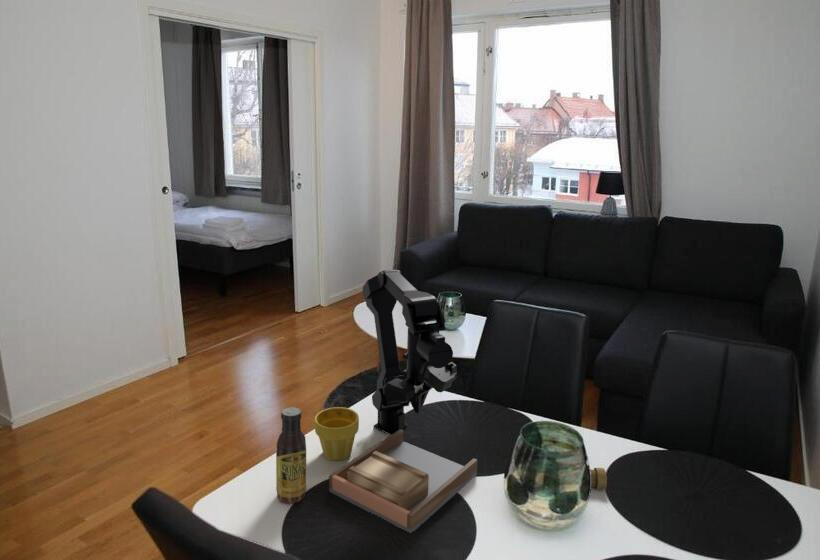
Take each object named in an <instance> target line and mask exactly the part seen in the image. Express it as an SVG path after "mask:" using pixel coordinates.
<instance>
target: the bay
mask: <svg viewBox="0 0 820 560" xmlns="http://www.w3.org/2000/svg"><path fill="white" fill-rule="evenodd" d="M375 451H377V452H380V453H382V454H384V455H387V456H389V457H391V458H393V459H396V460H398V461H400V462H403V463H405V464H407V465H409V466H412V467H414V468H416V469H419V470H421V471H423V472H425V473H427V474H429V482H428V494H426V495H425V496H424V497H423V498H422V499H420V500H419V501H418V502H417V503H416V504H414V505H413V506H412V507H411V508H410V509H408V510H406V509H404V508H402V507H400V506H398V505H396V504H394V503H392V502H390V501H388V500H386V499H384V498H382V497H380V496H378V495H376V494H374V493H371V492H369V491H367V490H365V489H363V488H361V487H359V486H357V485H355V484H353V483H351V482H349V481H347V472H348V471H349V468H350V467H352V466H354V467H356V466H357V465H359V464H360V463H362V462H363V461H365V460H367V459H368V458H370V457H371V456H372V453H373V452H375ZM477 473H478V459H476V458H472V459H471V460H470V461H468V462H467V463H466V464H465V465H462V464H460V463H457V462H455V461H453V460H450V459H448V458H445V457H442V456H440V455H437V454H436V453H433V452H430V451H428V450H426V449H424V448H421V447H419V446H415V445H413V444H411V443H408V442H406V441H405V440H404V430H403V429H400V430H398V431H396V432H395V433H393V434H392V435H391V434H389V436H387V437H386V438H384V439H382V440H381V441H380V442H378V443H376V444H375V445H374V446H372V447H370V448H369V449H367V450H365V451H364V452H363V453H361V454H359V455H357V457H355V458H353V459H351V460H350V461H348V462H347V463H345V464H344V465H342V466H341V467H340V468H338V469H336V470H335V471H333V472H332V473H330V474H328V491H329V492H330V493H332V494H333V495H335V496H337V497H338V498H341V499H342V500H345V501H347V502H348V503H351V504H352V505H354V506H356V507H359V508H360V509H362V510H364V511H366V512H368V513H370V512H371V513H370V514H372V515H373V514H375V515H377V516H378V517H377V516H376V517H377V518H379V517H381V518H382V519H381V518H380V519H381V520H383V519H384V520H383V521H385V520H386V521H385V522H387V521H388V522H387V523H389V522H390V523H389V524H391V523H392V524H391V525H393V524H394V525H393V526H395V527H397V528H399V529H400V528H401V530H402V529H403V531H404V530H405V531H404V532H406V531H407V533H408V532H409V533H408V534H410V533H412V532H413V531H414V532H415V531H416V530H417V529H419V528H420V527H421V524H422V525H423V524H424V523H425V522H426V521H427V520H428V519H430V516H431V517H432V516H433V515H434V514H435V513H437V511H438V510H440V509H441V508H442V507H443V506H444V505H446V504H447V502H448V501H450V500H451V499H452V498H454V496H455V495H456V494H458V493H459V491H461V490H462V489H463V488H464V487H465V486H467V484H468V483H470V482H471V481H472V480H473V479H474V478H475V477H477V476H478V475H477ZM375 515H374V516H375ZM414 532H413V533H414ZM413 533H412V534H413Z"/></svg>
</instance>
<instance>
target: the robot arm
mask: <svg viewBox="0 0 820 560" xmlns="http://www.w3.org/2000/svg"><path fill="white" fill-rule="evenodd" d="M401 272H402V271H400V270H399V269H385V270H381V271H379V272H378V274H377V275H375V276H373V277H371V278H369V279H367V280H366V282H365V283H364V285H363V286H362V295H363V299H364V301H365V305H366V308H368V310H369V311H370V312H371V313H372V314H373V317H374V324H375V325H374V326H375V333H376V339H377V346H378V355H379V362H380V370H381V371H380V374H379V375H378V378H377V381H376V390H375V391H374V393H373V394H372V395H371V401H372V405H373V406H374V408H375V409H376V410H377V423H375V424H374V425H373V429H377V430H379V431H382V432H384V433H386V434H389V435H392V434H393V433H395V432H396V431H398V430H400V429H401V430H403V429H404V428H406V427H407V426H408V423H407V422H406V413H405V411H404V410H405V407H409V406H410V405H411V407H412V410H413V411H414V412H415V413H416V414H420V413H421V412H422V410H423V408H424V407H423V406H424V404H425V402H426V399H427V396H428V394H429V392H430V391H431V390H432V389H434V391H436V392H437V393H443V392H444V391H445V390H447V389H449V388H451V386H452V383H453V381H454V380H456V379H457V378H458V376H457V373H458V369H457V364H455V363H454V362H453V361H452V359H453V357H454V356H453V355H454V351H453V348H452V346H451V345H450V344H449V343H448V342H447V341H446V336H444V335H442V334H441V333H440V332H442V331H443V332H444V331H446V330H447V329H446V325H445V323H446V320H445V316H444V313H443V310H442V308H441V304H440V302H439V300H438V299H437V298H436V297H435V296H434V295H433V294H431V293H429V292H425V291H419V290H418V289H417V288H416V287H414V286H413V284H412V283H410V282H409V281H408V280H407V279H406V278H405V277H404V276H403V275H402V273H401ZM397 302H398V303H399V304H400V305H401V306H402V310H401V313H402V316H403V318H404V320H405V324H404V325H405V326H406V327H407V343H406V344H407V346H406V351H407V352H405V353H403V354H402V358H403V360H406V369H403V370H402V369H401V367H400V359H399V352H398V346H397V339H396V331H395V323H394V315H393V311H394V309H395V306H396V304H397ZM427 322H428V323H427ZM429 322H431V323H429Z"/></svg>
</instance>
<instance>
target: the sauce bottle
mask: <svg viewBox="0 0 820 560" xmlns="http://www.w3.org/2000/svg"><path fill="white" fill-rule="evenodd" d="M280 414H281V415H280V418H281V422H282V423H281V424H282V425H281V426H282V427H281V433H280V434H279V436H278V439H277V441H276V455H275V459H276V460H275V461H276V462H275V463H276V464H275V465H276V469H275V471H276V473H275V476H276V477H275V478H276V479H275V481H276V482H275V484H276V485H275V486H276V488H275V489H276V490H275V491H276V497H277V500H278V501H279V502H280V503H283V504H288V505H289V504H296V503H298V502H301V501H302V500H303V499H304V498H305V496H306V491H307V443H306V442H307V441H306V435H305V434H304V433H303V432H302V426H301V419H302V410H301V408H298V407H294V406H292V407H286V408H284V409H282V410H281V413H280Z"/></svg>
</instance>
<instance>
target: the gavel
mask: <svg viewBox="0 0 820 560" xmlns="http://www.w3.org/2000/svg"><path fill="white" fill-rule="evenodd" d="M589 469H590V472H591V487H590V488H595V490H601V491H604V490H606V489H607V482H608V481H607V480H608V479H607V478H608V477H607V471H606V469H605V468H604V467H594V468H593V469H592V468H589Z"/></svg>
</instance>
